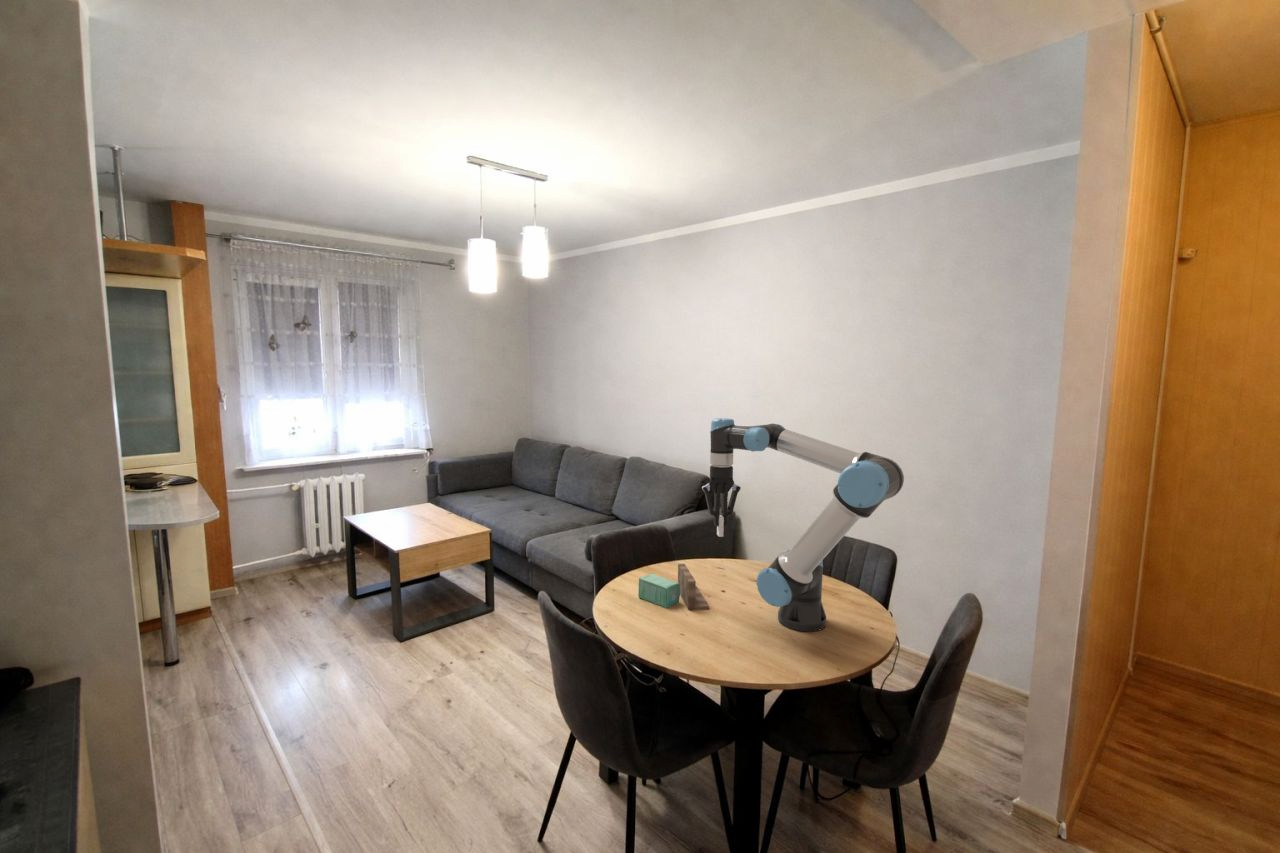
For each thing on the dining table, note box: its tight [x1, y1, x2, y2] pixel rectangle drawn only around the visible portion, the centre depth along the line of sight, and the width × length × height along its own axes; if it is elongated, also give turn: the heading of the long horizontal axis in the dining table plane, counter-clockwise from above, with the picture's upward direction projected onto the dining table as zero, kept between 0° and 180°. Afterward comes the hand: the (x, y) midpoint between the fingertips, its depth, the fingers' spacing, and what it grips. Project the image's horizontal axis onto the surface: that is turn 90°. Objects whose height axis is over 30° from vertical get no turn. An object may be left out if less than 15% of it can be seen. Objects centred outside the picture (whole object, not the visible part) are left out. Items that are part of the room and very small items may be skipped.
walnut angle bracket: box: [677, 563, 710, 611], centre depth 196 cm, size 18×7×10 cm, turn 8°
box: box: [637, 573, 681, 609], centre depth 196 cm, size 7×14×8 cm, turn 47°
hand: (720, 535), depth 184 cm, fingers closed
